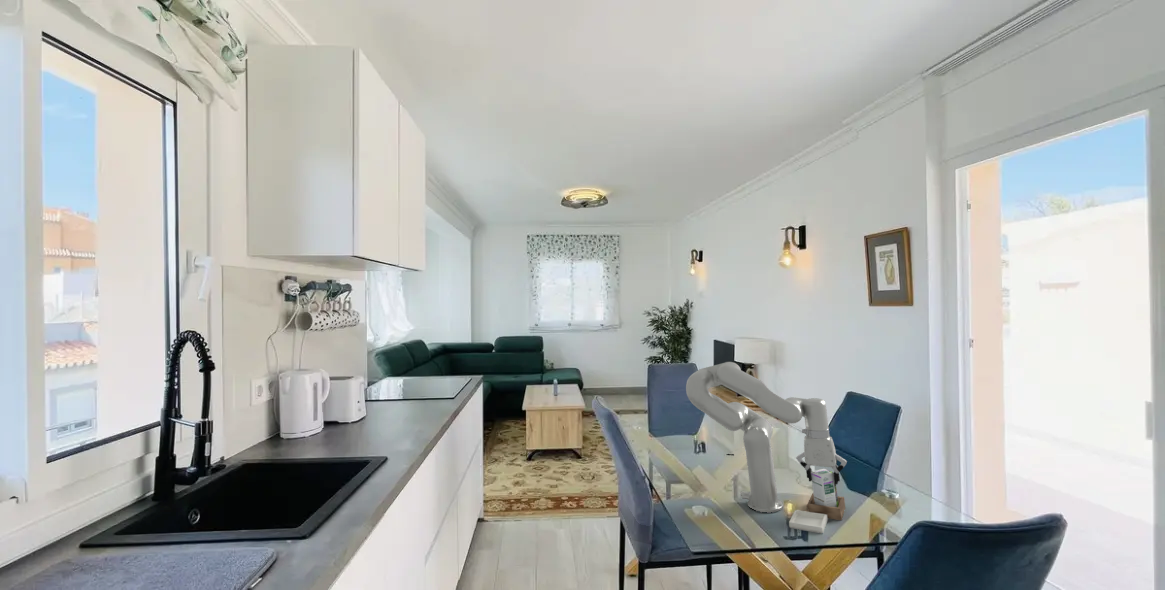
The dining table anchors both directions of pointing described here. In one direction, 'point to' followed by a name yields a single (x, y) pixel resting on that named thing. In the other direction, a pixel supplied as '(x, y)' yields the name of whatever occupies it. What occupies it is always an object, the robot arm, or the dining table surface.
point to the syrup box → (824, 488)
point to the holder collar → (828, 508)
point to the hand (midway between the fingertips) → (823, 481)
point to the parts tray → (808, 521)
